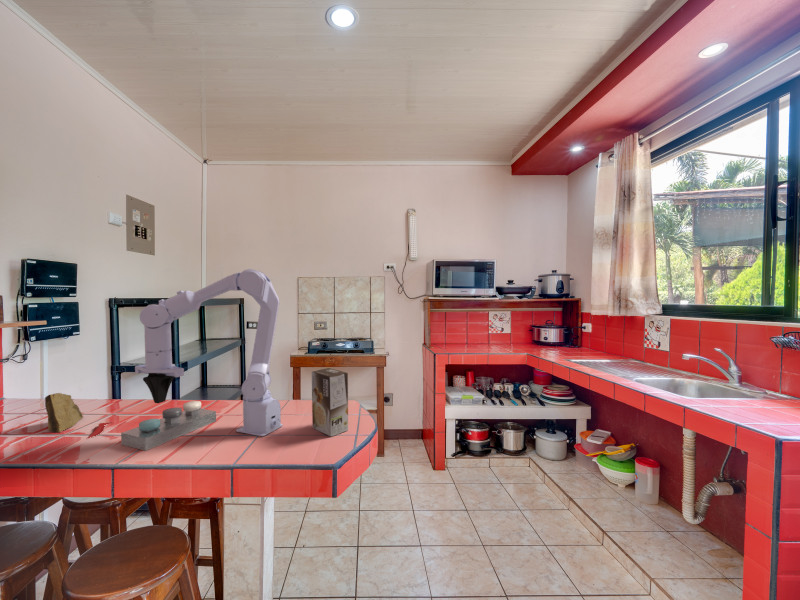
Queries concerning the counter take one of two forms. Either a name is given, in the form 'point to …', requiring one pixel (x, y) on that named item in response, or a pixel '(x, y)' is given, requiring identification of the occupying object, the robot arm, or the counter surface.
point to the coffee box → (330, 401)
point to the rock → (61, 412)
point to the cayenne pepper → (98, 429)
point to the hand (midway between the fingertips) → (160, 402)
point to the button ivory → (192, 408)
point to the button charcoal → (172, 415)
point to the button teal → (149, 425)
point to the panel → (167, 430)
